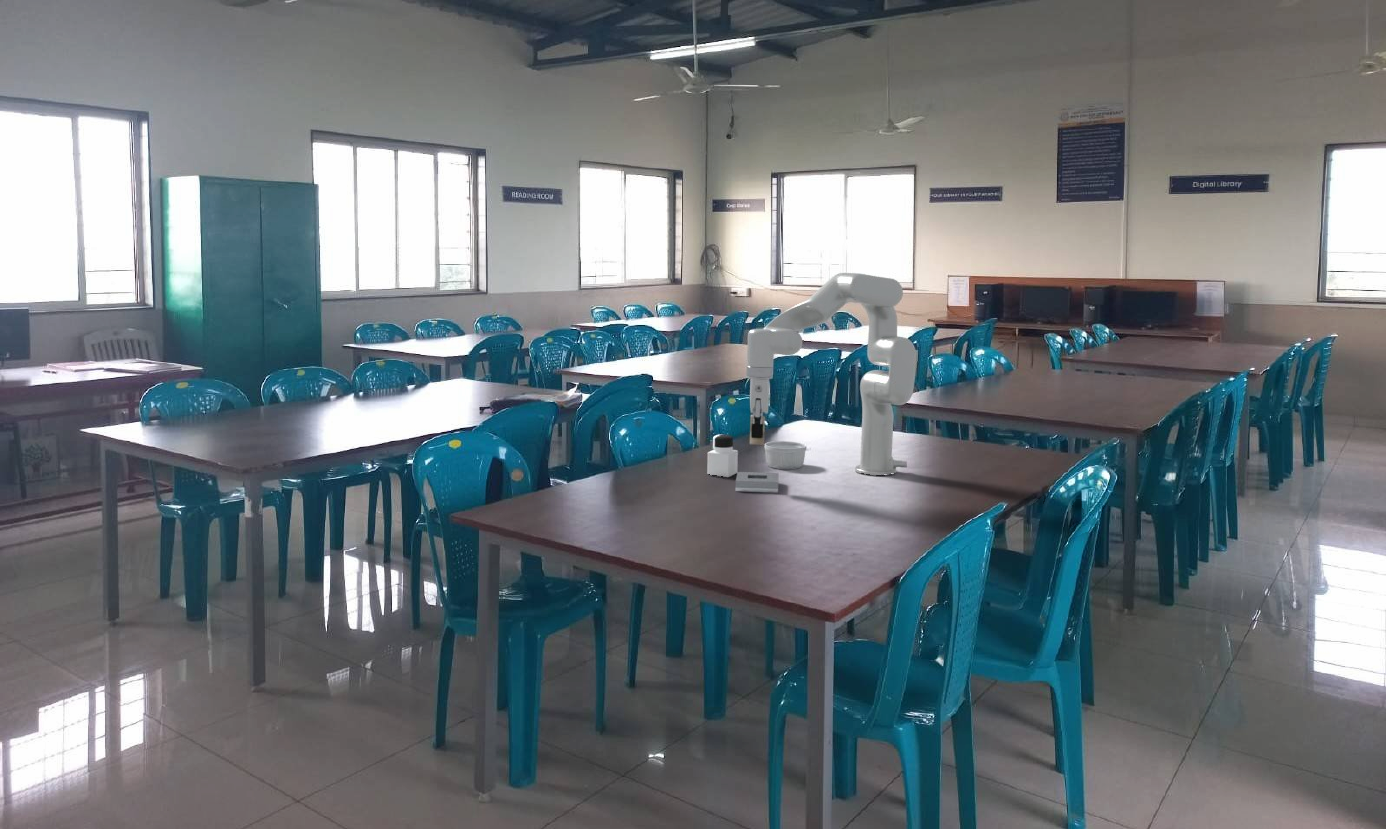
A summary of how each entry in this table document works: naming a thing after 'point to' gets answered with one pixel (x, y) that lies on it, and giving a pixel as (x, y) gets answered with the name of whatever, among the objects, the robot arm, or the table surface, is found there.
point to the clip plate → (757, 482)
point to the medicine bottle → (722, 457)
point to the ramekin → (785, 454)
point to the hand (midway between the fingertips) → (757, 436)
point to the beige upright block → (757, 440)
